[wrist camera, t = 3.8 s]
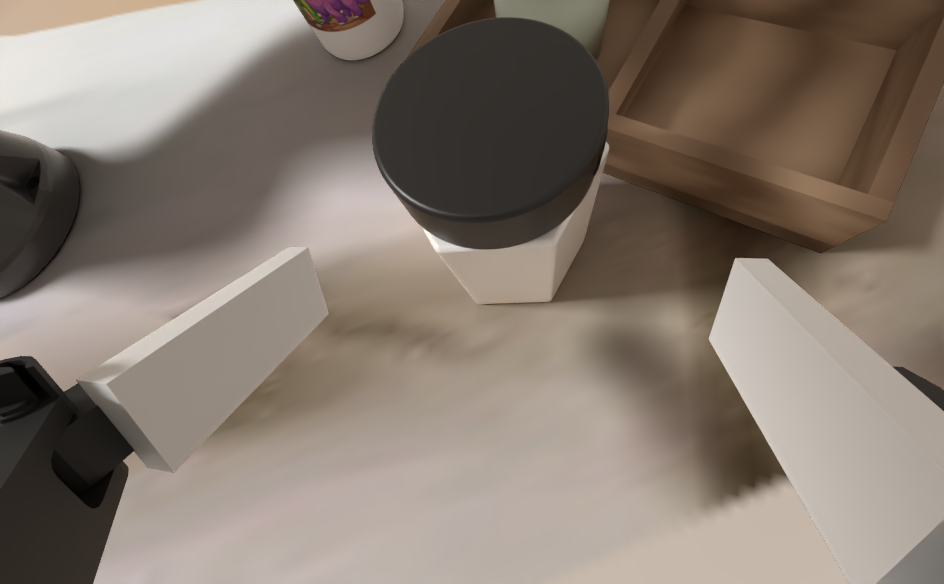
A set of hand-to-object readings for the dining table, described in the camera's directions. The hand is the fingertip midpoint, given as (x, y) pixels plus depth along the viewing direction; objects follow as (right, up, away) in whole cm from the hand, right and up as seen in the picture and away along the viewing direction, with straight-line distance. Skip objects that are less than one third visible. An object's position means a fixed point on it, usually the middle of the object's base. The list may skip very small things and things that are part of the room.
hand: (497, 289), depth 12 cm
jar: (+2, +3, +12) cm, 12 cm away
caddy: (+10, +14, +13) cm, 22 cm away
